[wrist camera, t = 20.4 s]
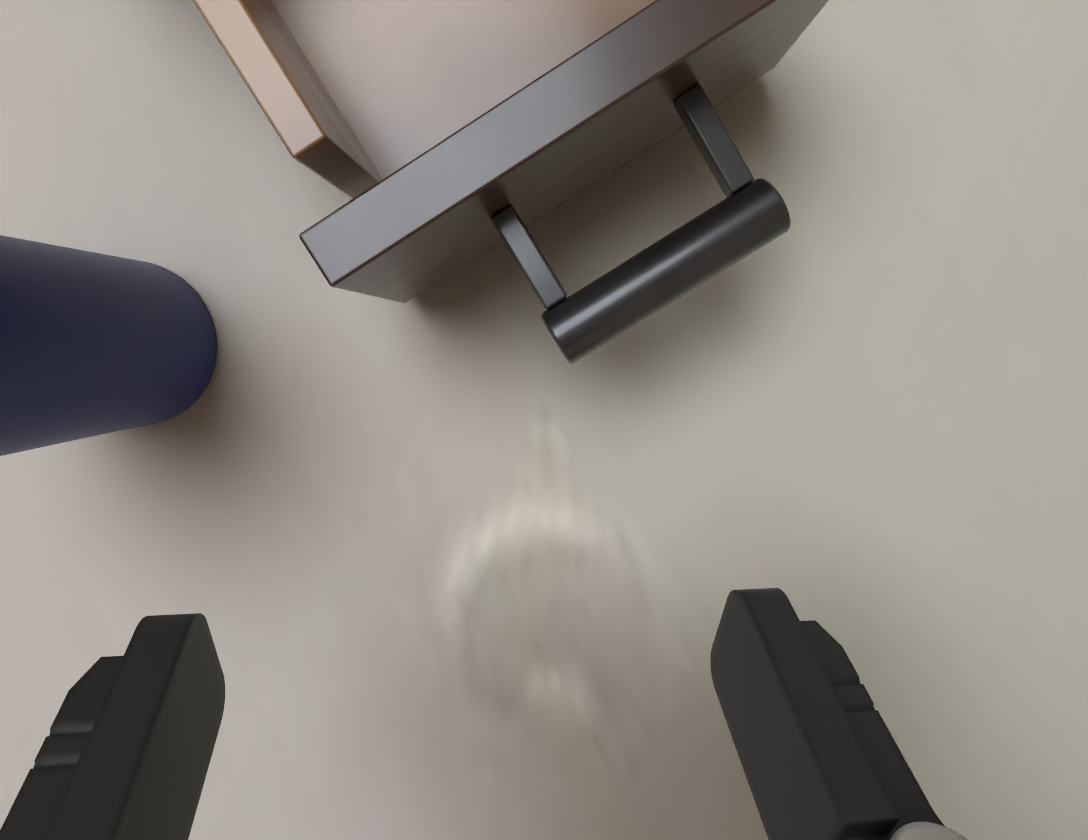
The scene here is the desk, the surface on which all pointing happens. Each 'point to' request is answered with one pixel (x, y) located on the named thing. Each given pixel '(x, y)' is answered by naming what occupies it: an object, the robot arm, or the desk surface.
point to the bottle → (94, 344)
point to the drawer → (509, 132)
